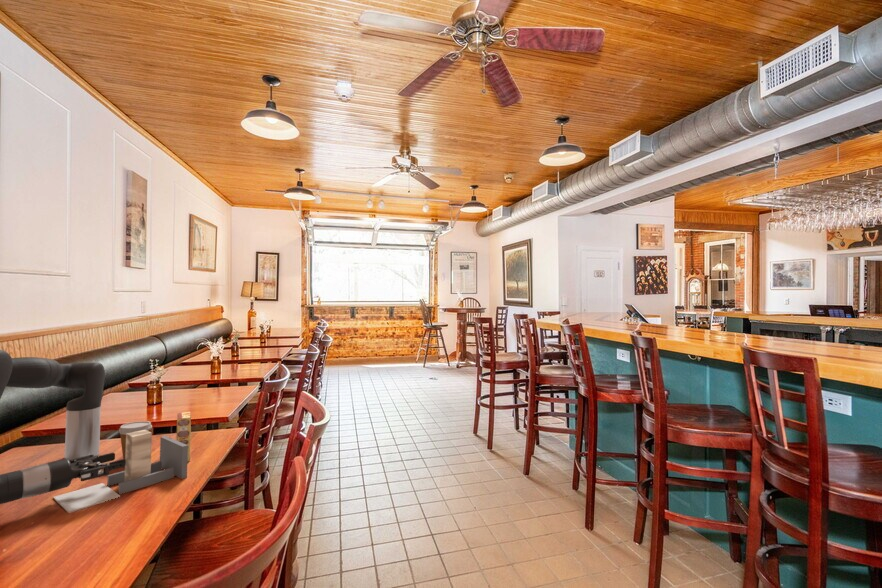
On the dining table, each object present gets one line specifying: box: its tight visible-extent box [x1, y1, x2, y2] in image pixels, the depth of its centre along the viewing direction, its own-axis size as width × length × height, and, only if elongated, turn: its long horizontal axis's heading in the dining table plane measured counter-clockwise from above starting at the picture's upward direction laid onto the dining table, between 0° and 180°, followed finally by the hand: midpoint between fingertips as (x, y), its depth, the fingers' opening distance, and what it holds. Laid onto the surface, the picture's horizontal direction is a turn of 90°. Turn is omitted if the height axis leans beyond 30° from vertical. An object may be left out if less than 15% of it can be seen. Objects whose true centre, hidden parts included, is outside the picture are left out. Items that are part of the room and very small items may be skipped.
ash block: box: [124, 430, 153, 481], centre depth 124 cm, size 5×5×15 cm
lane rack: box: [106, 435, 188, 495], centre depth 126 cm, size 16×16×10 cm
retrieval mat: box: [52, 482, 121, 514], centre depth 114 cm, size 14×11×1 cm
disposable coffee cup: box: [118, 420, 153, 459], centre depth 143 cm, size 10×10×12 cm
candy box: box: [175, 411, 192, 462], centre depth 144 cm, size 9×4×15 cm, turn 33°
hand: (119, 459), depth 120 cm, fingers open, 8 cm apart
